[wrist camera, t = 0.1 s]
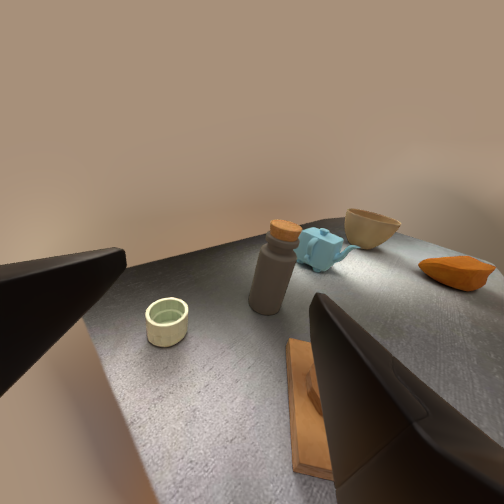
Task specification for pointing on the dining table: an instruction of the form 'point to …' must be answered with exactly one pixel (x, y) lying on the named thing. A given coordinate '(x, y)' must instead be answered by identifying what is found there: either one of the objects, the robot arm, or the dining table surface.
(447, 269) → the bread
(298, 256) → the teapot
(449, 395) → the dining table surface
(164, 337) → the mint green cup
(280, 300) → the bottle
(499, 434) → the dining table surface
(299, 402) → the block
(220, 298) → the dining table surface
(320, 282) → the dining table surface
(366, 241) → the deep tan bowl
